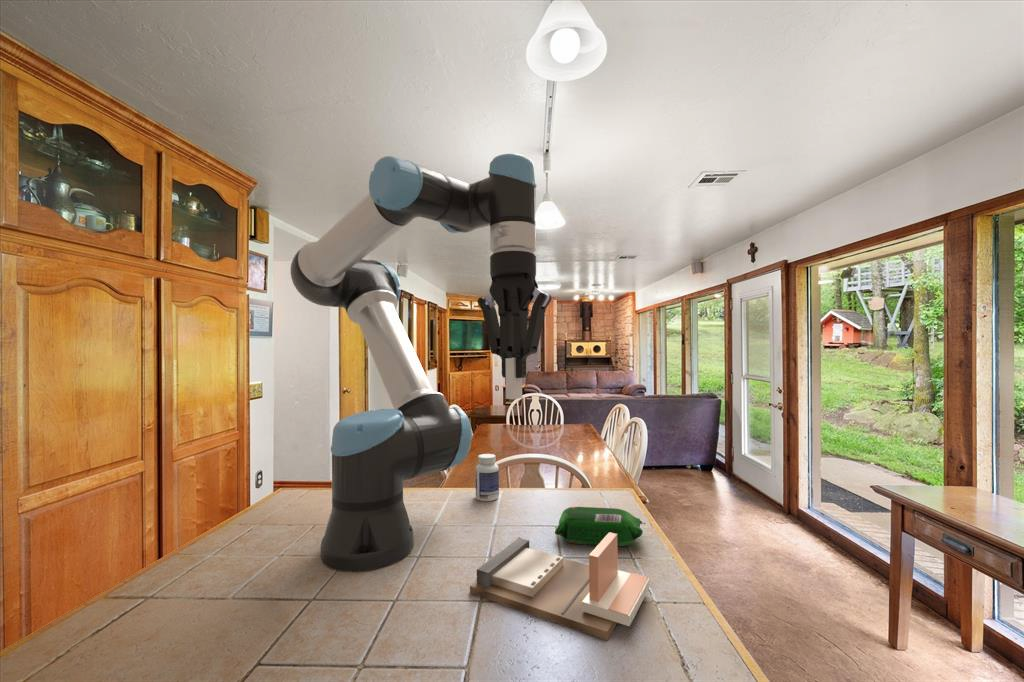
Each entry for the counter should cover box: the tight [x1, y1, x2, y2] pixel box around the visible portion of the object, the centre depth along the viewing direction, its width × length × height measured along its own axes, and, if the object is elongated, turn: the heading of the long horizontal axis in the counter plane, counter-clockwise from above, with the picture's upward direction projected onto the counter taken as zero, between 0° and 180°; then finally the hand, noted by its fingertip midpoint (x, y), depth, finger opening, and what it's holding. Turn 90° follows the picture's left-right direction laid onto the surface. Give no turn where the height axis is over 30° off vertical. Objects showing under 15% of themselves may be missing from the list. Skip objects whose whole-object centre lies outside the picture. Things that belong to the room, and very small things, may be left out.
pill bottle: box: [474, 453, 500, 502], centre depth 101 cm, size 5×5×10 cm
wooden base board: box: [469, 537, 618, 641], centre depth 63 cm, size 20×14×3 cm
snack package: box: [554, 506, 646, 547], centre depth 79 cm, size 7×16×5 cm, turn 80°
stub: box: [582, 532, 651, 627], centre depth 58 cm, size 6×10×7 cm, turn 149°
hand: (514, 398), depth 71 cm, fingers closed
